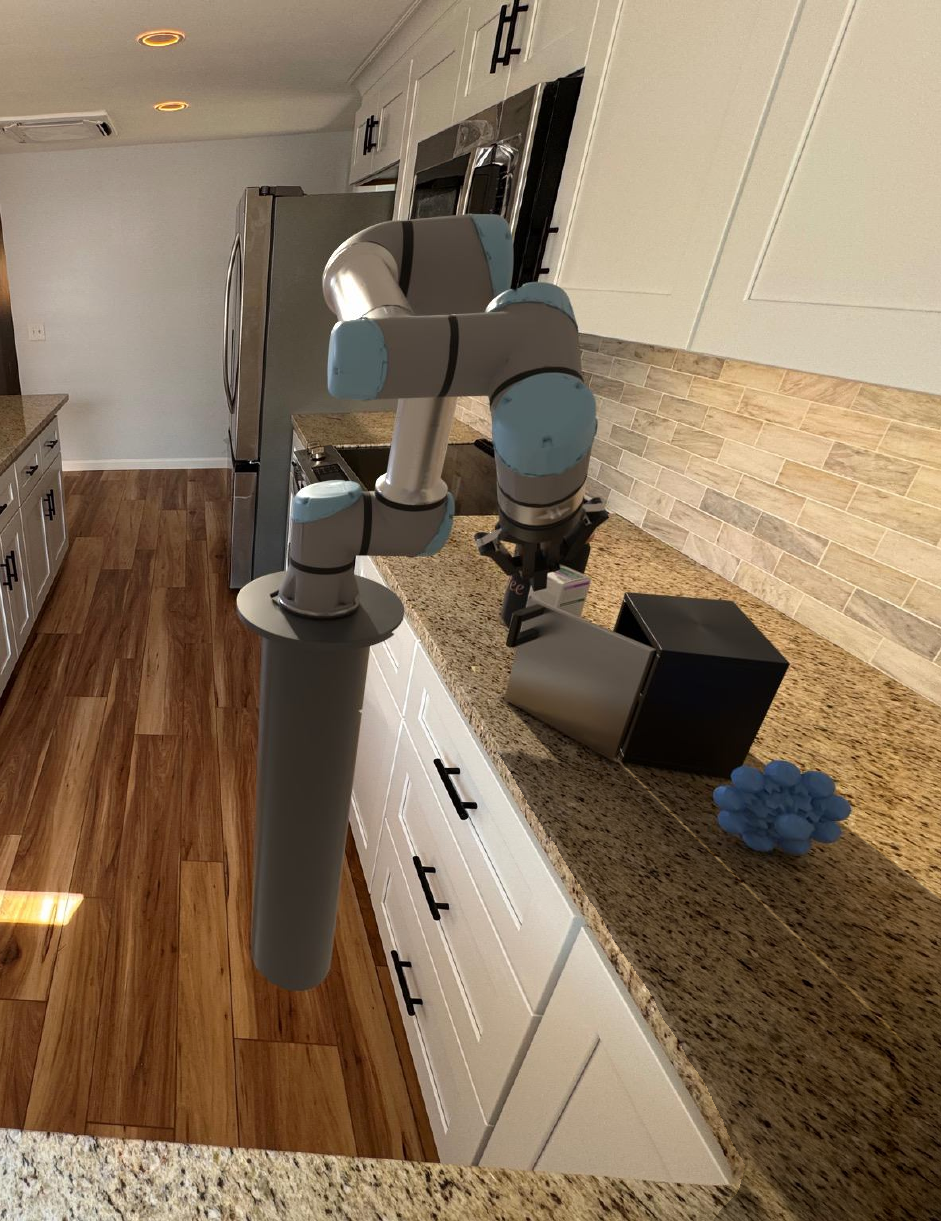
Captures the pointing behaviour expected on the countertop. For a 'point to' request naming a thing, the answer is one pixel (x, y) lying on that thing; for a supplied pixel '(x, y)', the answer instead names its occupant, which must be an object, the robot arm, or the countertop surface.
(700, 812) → the countertop surface
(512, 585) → the coffee jar
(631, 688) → the door
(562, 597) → the syrup box
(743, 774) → the blue flower
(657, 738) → the black box
